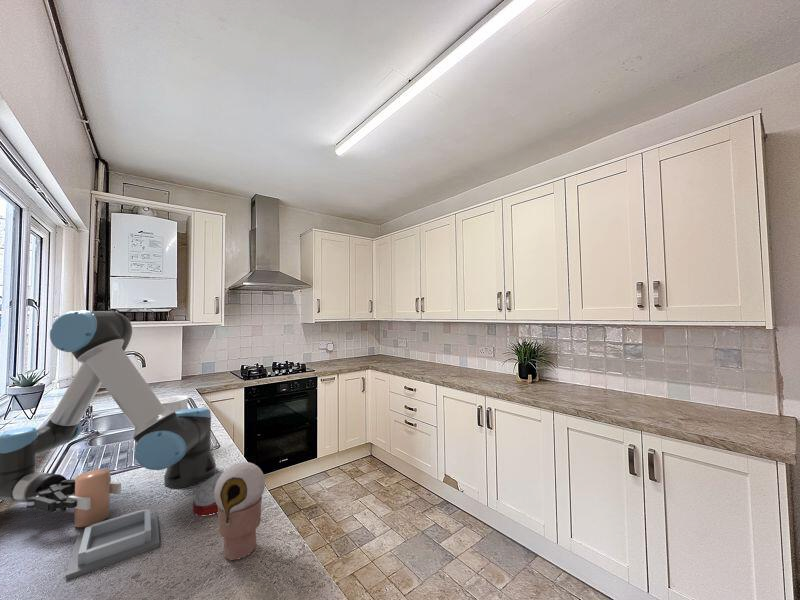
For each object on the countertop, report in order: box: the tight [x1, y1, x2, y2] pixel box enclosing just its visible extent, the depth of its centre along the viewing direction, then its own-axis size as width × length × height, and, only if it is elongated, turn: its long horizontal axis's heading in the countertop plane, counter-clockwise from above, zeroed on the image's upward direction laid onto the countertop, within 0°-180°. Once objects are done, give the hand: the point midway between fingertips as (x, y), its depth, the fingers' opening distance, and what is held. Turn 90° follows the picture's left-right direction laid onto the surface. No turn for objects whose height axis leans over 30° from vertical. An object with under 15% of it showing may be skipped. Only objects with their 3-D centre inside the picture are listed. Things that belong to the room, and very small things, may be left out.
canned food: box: [192, 471, 224, 515], centre depth 96 cm, size 11×10×10 cm
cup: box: [158, 395, 189, 411], centre depth 136 cm, size 12×12×22 cm
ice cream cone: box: [214, 461, 266, 561], centre depth 78 cm, size 11×11×20 cm
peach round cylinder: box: [73, 467, 111, 528], centre depth 90 cm, size 7×7×12 cm
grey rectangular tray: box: [65, 507, 160, 581], centre depth 81 cm, size 16×16×4 cm
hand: (104, 495), depth 89 cm, fingers closed on peach round cylinder, 7 cm apart
